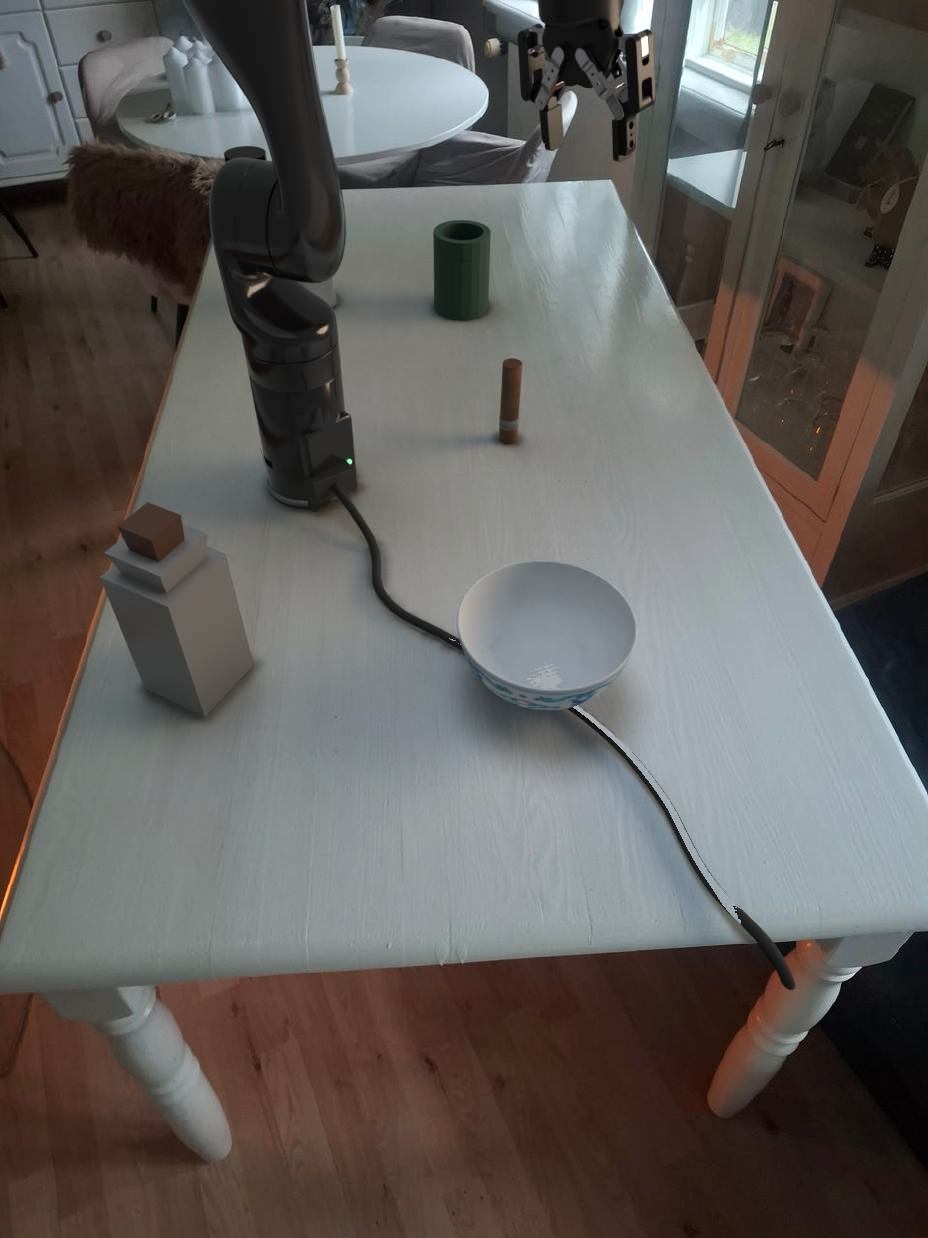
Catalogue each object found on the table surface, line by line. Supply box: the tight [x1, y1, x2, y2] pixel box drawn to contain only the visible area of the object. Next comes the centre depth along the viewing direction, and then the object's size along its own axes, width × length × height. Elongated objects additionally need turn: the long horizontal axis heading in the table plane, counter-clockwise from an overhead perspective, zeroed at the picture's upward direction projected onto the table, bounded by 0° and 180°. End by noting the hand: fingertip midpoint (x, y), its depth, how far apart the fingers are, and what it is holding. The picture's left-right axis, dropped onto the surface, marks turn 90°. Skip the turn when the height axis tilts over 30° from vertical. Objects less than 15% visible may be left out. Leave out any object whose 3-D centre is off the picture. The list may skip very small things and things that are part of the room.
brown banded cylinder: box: [498, 357, 523, 445], centre depth 100 cm, size 2×2×10 cm
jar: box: [432, 219, 492, 321], centre depth 122 cm, size 8×8×11 cm
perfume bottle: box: [99, 501, 254, 718], centre depth 70 cm, size 7×7×18 cm
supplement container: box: [223, 145, 268, 163], centre depth 143 cm, size 7×7×10 cm
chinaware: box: [456, 559, 638, 712], centre depth 74 cm, size 15×15×8 cm
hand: (588, 153), depth 85 cm, fingers open, 8 cm apart
